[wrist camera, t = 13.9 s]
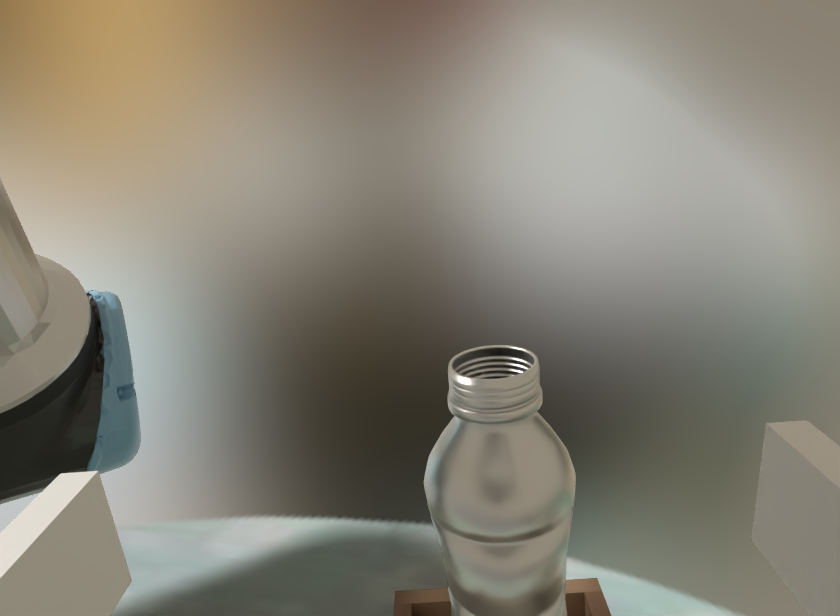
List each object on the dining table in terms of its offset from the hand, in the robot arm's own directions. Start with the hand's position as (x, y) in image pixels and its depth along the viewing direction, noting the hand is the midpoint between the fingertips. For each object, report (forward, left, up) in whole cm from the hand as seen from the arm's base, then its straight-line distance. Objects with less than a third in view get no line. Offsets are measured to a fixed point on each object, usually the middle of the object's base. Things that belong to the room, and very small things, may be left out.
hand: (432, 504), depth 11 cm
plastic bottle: (+2, +12, -22) cm, 25 cm away
